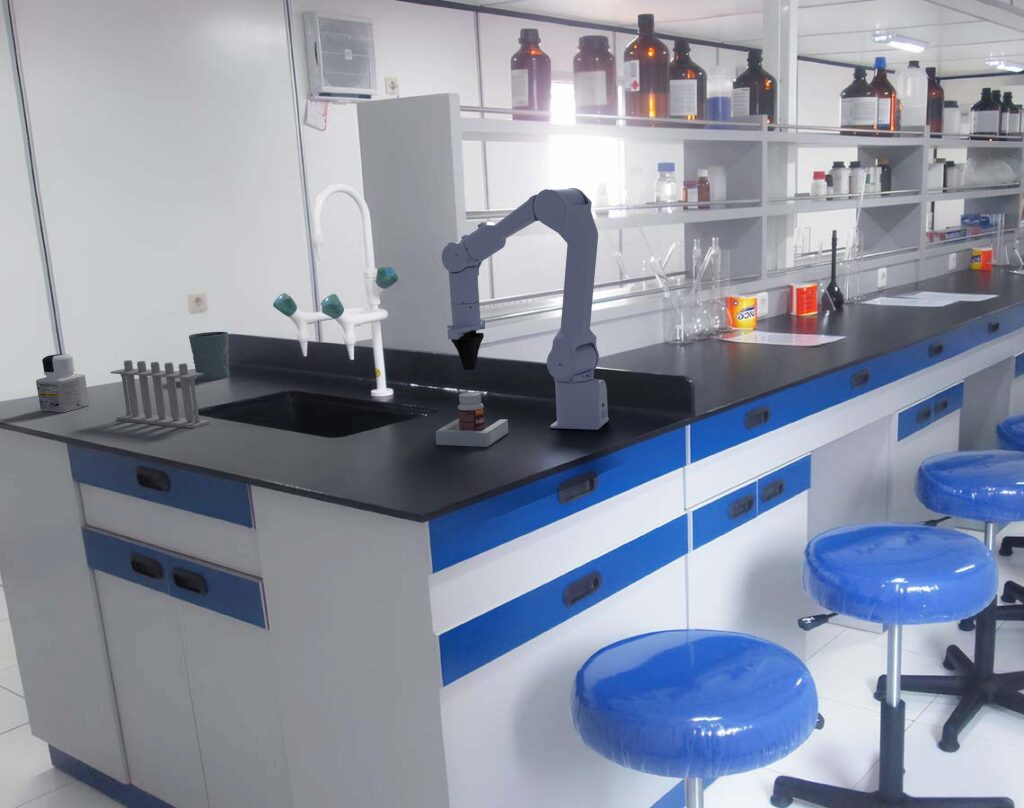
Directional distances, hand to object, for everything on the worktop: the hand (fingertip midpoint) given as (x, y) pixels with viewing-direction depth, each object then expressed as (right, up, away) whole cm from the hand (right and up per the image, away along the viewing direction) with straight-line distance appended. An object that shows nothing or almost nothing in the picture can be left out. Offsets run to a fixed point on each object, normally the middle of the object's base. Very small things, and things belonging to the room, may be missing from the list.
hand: (469, 369), depth 193 cm
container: (-98, -8, +33) cm, 104 cm away
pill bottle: (+1, -14, -18) cm, 22 cm away
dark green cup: (-73, 0, +65) cm, 98 cm away
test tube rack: (-67, -11, +12) cm, 69 cm away
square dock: (+2, -13, -17) cm, 22 cm away
